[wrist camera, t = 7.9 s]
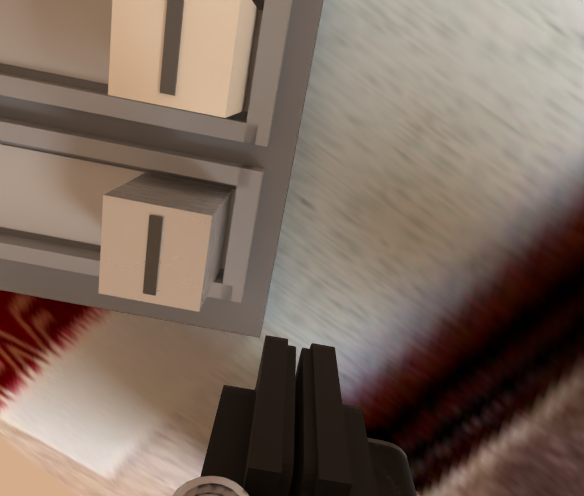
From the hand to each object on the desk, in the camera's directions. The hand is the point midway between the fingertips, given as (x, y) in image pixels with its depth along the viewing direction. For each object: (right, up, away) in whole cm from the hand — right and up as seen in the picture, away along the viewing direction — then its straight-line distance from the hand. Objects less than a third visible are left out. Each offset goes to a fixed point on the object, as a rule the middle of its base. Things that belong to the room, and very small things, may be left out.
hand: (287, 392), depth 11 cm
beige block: (-5, +5, +11) cm, 13 cm away
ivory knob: (-4, +12, +8) cm, 15 cm away
